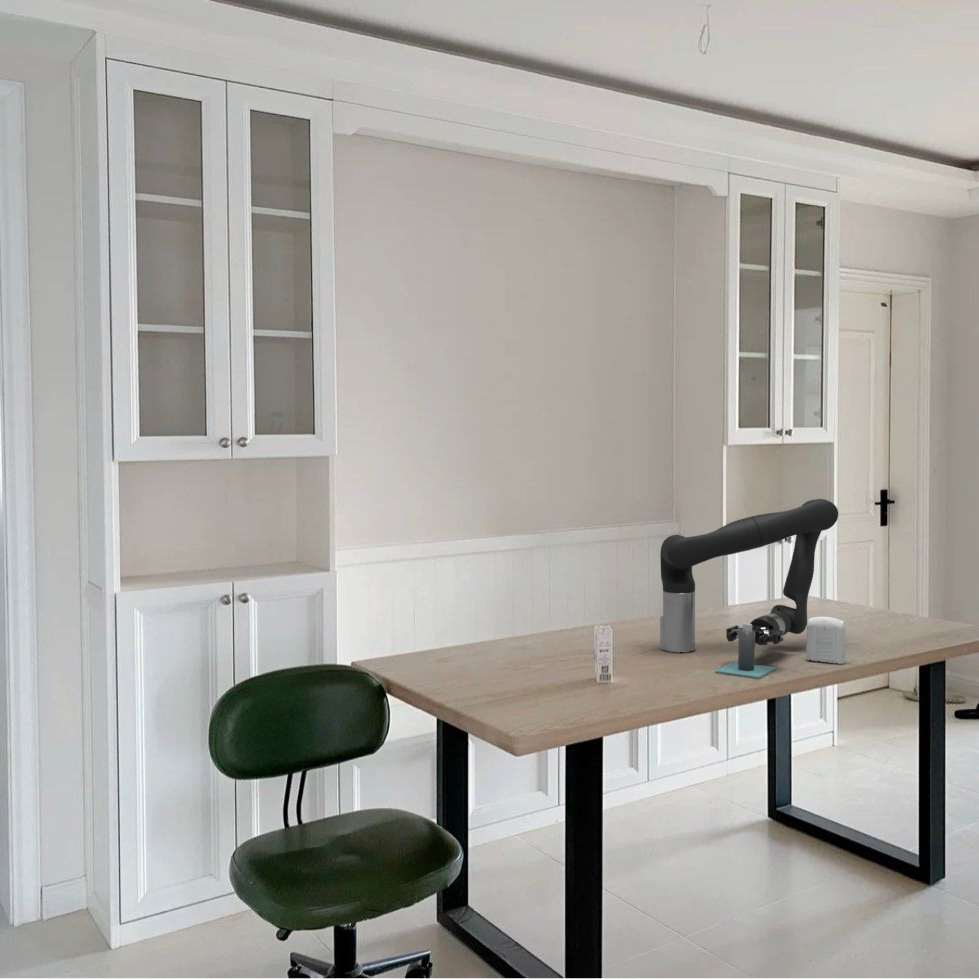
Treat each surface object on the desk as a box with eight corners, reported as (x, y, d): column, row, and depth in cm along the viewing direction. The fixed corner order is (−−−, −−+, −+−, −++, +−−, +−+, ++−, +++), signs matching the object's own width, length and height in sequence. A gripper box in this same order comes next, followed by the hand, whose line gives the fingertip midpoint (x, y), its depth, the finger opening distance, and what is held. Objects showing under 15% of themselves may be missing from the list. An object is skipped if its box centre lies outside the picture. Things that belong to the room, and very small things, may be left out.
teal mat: (715, 672, 270) (715, 670, 270) (733, 663, 280) (733, 661, 280) (759, 679, 263) (759, 676, 263) (776, 669, 273) (776, 667, 273)
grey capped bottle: (735, 669, 271) (736, 624, 270) (741, 665, 275) (743, 621, 274) (750, 671, 269) (752, 626, 268) (756, 668, 272) (758, 623, 271)
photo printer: (846, 661, 281) (847, 617, 280) (843, 665, 277) (844, 619, 276) (808, 658, 286) (808, 614, 285) (804, 661, 282) (805, 616, 281)
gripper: (742, 612, 287) (719, 622, 274) (792, 618, 279) (770, 628, 266) (742, 639, 288) (719, 650, 275) (792, 645, 279) (770, 656, 266)
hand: (744, 639), depth 270 cm, fingers open, 8 cm apart
